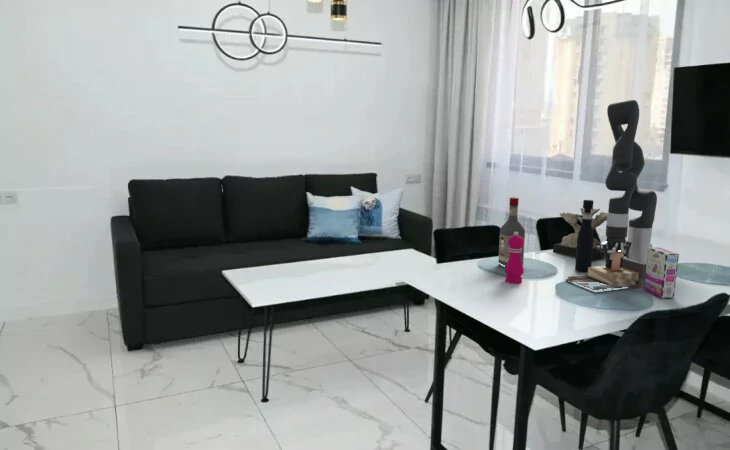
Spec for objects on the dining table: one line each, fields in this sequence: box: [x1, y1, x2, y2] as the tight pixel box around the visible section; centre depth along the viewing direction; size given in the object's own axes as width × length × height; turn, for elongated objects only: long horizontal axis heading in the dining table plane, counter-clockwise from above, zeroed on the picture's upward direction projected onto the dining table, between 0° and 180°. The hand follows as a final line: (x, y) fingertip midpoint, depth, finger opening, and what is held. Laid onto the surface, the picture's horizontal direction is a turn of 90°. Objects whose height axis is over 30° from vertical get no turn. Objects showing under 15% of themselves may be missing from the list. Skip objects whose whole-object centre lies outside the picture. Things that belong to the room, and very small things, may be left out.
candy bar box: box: [643, 247, 680, 300], centre depth 195 cm, size 11×5×16 cm, turn 5°
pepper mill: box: [504, 232, 525, 284], centre depth 211 cm, size 7×7×20 cm
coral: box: [552, 207, 608, 262], centre depth 257 cm, size 25×20×22 cm
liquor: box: [498, 197, 526, 266], centre depth 232 cm, size 9×9×30 cm
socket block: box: [587, 265, 639, 285], centre depth 209 cm, size 13×13×4 cm
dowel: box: [607, 251, 621, 272], centre depth 208 cm, size 4×4×8 cm
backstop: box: [565, 257, 646, 290], centre depth 208 cm, size 24×16×9 cm
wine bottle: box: [574, 199, 595, 274], centre depth 225 cm, size 6×6×30 cm
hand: (613, 267), depth 209 cm, fingers closed on dowel, 4 cm apart
